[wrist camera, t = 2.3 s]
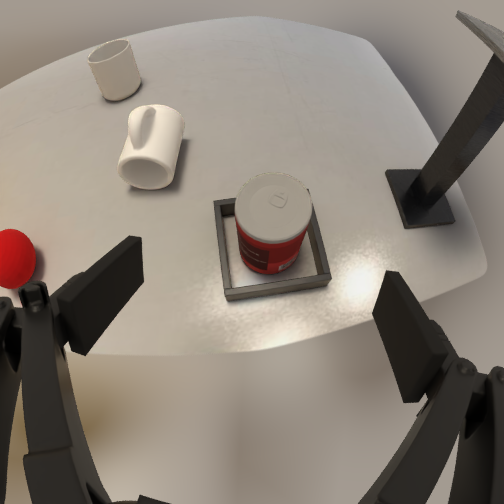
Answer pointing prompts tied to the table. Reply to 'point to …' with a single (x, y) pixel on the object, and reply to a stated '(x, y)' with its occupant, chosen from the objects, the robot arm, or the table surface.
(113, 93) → the mug
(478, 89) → the steel stand
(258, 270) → the canned food
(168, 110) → the mug
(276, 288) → the grey square frame
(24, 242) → the ornament
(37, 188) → the table surface
